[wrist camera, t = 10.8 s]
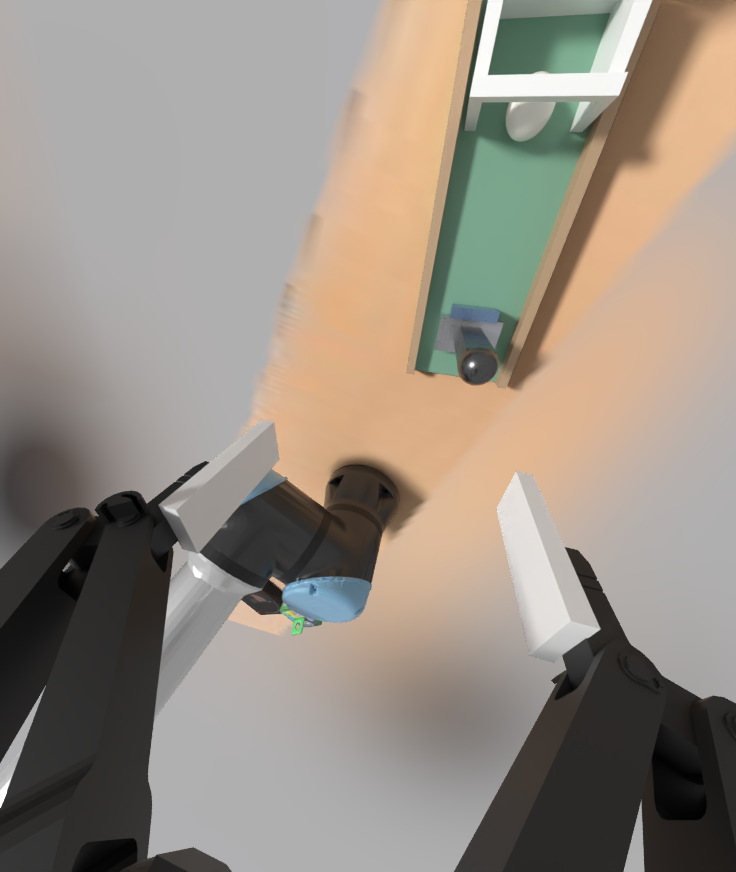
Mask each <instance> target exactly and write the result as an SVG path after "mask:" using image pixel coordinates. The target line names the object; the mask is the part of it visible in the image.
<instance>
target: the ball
mask: <svg viewBox="0 0 736 872" xmlns="http://www.w3.org/2000/svg"><path fill="white" fill-rule="evenodd" d="M533 74H550V73H548V72H545V71H539V72H536V73H533ZM555 103H556V102H509V105H508V108H507V112H506V129H507V132H508V134H509V136H510V137H511V138H512V139H513V140H515V141H518V142H523V141H527V140H529V139H531V138H533V137H534V136H536V135H537V134H538V133H539V132H540V131H541V130H542V129H543V128H544V126H545V125H546V123H547V122H548V120H549V119H550V117H551V114H552V112H553V110H554V107H555Z"/></svg>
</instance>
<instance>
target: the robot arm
mask: <svg viewBox="0 0 736 872" xmlns="http://www.w3.org/2000/svg"><path fill="white" fill-rule="evenodd" d="M278 460H279V453H278V446H277V440H276V433H275V426H274V422H272V421H267V420H261V421H259V422H258V423H257V424H256V425H255V426H253V427H252V428H251V429H250V430H248V431H247V432H246V433H245V434H244V435H242V436H241V437H240V438H239V439H238V440H236V441H235V442H234V443H233V444H232V445H230V446H229V447H228V448H227V449H226V450H224V451H223V452H222V453H221V454H219V455H218V456H217V457H216V458H215V459H213V460H212V461H211V462H206V461H205V462H203V463H201V464H199V465H197V466H194V467H193V468H192V469H190V470H189V471H188V472H187V473H185V474H184V476H182V477H180V478H179V479H178V480H177V481H176V482H174V483H173V484H172V485H170V486H169V487H168V488H166V489H165V490H164V491H163V492H161V493H160V494H159V495H158V496H157V497H155V498H154V499H152V500H151V501H150V502H149V503H147V504H146V502H145V500H144V498H143V497H142V495H141V494H140V493H138V492H136V491H125V492H121V493H117V494H114V495H112V496H110V497H108V498H106V499H105V500H104V501H102V502H101V503H100V504H98V506H97V507H96V509H95V511H96V512H97V514H98V515H99V516H94V515H93V514H92V513H91V512H90V510H88V509H86V508H73V509H69V510H66V511H63V512H61V513H59V514H57V515H55V516H53V517H52V518H50V519H49V520H48V521H46V522H45V523H44V524H43V525H42V526H41V527H40V528H39V529H38V530H37V531H36V532H35V533H34V534H33V535H32V536H31V538H30V539H29V540H28V541H27V542H26V543H25V544H24V545H23V546H22V547H21V548H20V549H19V550H18V551H17V552H16V553H15V554H14V555H13V556H12V558H11V559H10V560H9V561H8V562H7V563H6V564H5V565H4V566H3V567H2V568H1V569H0V763H1V761H2V759H3V757H4V756H5V754H6V752H7V751H8V749H9V747H10V745H11V744H12V742H13V740H14V738H15V737H16V735H17V733H18V732H19V730H20V728H21V727H22V725H23V723H24V721H25V720H26V718H27V716H28V715H29V713H30V711H31V710H32V708H33V706H34V704H35V703H36V701H37V699H38V698H39V696H40V694H41V692H42V691H43V689H44V687H45V686H46V687H45V690H44V692H43V695H42V698H41V701H40V703H39V706H38V709H37V711H36V714H35V717H34V719H33V722H32V725H31V727H30V730H29V733H28V736H27V738H26V741H25V743H24V746H23V749H22V750H21V751H20V752H19V753H18V755H17V756H16V757H15V758H14V759H13V760H12V761H11V763H10V764H9V765H8V766H7V767H6V768H5V769H4V771H3V772H2V773H1V774H0V872H231V870H230V869H229V867H228V866H227V865H226V864H224V863H223V862H221V861H219V860H217V859H215V858H213V857H211V856H209V855H207V854H205V853H203V852H201V851H199V850H197V849H195V848H188V849H183V850H179V851H173V852H169V853H163V854H158V855H156V856H155V857H152V858H149V859H147V855H148V845H149V834H150V825H151V814H152V796H151V790H150V786H149V782H148V764H149V756H150V748H151V739H152V731H153V722H154V719H155V718H156V716H157V715H158V714H159V712H160V711H161V710H162V708H163V707H164V705H165V704H166V703H167V701H168V700H169V698H170V697H171V696H172V694H173V693H174V692H175V690H176V689H177V687H178V686H179V685H180V683H181V682H182V680H183V679H184V677H185V676H186V675H187V674H188V672H189V671H190V669H191V668H192V667H193V665H194V664H195V662H196V661H197V660H198V658H199V657H200V655H201V654H202V653H203V651H204V650H205V649H206V647H207V646H208V644H209V643H210V642H211V640H212V639H213V638H214V636H215V635H216V633H217V632H218V631H219V629H220V628H221V626H222V625H223V624H224V622H225V621H226V620H227V618H228V617H229V615H230V614H231V613H232V611H233V610H234V608H235V607H236V606H237V604H238V603H239V602H240V600H241V599H242V597H244V596H245V595H248V594H251V593H254V592H258V591H261V590H262V589H263V587H264V586H265V585H266V583H267V582H268V580H269V579H270V578H271V577H272V576H273V577H275V578H276V579H278V580H279V581H281V582H282V583H284V584H285V585H286V586H285V587H284V589H283V594H282V600H283V602H284V604H286V606H287V607H288V608H289V609H291V610H292V611H294V612H296V613H298V614H300V615H302V616H305V617H308V618H311V619H314V620H319V621H325V622H334V623H338V622H347V621H351V620H353V619H355V618H357V617H358V616H359V615H360V614H361V613H362V612H363V610H364V608H365V605H366V601H367V598H368V595H369V592H370V590H371V587H372V586H371V583H372V578H373V574H374V569H375V565H376V560H377V556H378V551H379V547H380V542H381V537H382V533H383V532H384V530H385V529H386V527H387V526H388V524H389V523H390V521H391V520H392V518H393V517H394V515H395V513H396V511H397V507H398V502H399V495H398V491H397V489H396V487H395V485H394V483H393V482H392V481H391V480H390V479H389V478H388V477H387V476H386V475H384V474H383V473H381V472H380V471H378V470H376V469H373V468H370V467H367V466H362V465H349V466H345V467H342V468H340V469H338V470H337V471H335V472H334V473H333V475H332V476H331V478H330V480H329V482H328V484H327V486H326V491H325V501H324V507H322V506H321V505H320V504H318V503H317V502H316V501H314V500H313V499H312V498H310V497H309V496H308V495H306V494H305V493H304V492H302V491H301V490H300V489H298V488H297V487H296V486H294V485H293V484H292V483H290V482H289V481H288V480H287V479H288V478H286V477H283V476H281V475H280V474H278V473H277V472H275V471H274V470H272V467H273V466H274V465H275V464H276V463H277V462H278ZM497 513H498V518H499V522H500V526H501V531H502V535H503V540H504V544H505V549H506V553H507V558H508V562H509V567H510V570H511V576H512V580H513V584H514V589H515V593H516V598H517V602H518V607H519V611H520V616H521V620H522V624H523V629H524V634H525V638H526V642H527V647H528V651H529V655H530V656H533V657H536V658H540V659H543V660H546V661H549V662H553V663H554V662H555V661H556V660H558V659H560V658H561V657H562V656H563V660H564V663H565V666H566V669H567V670H566V671H564V672H562V673H561V674H559V675H557V676H556V677H555V678H554V679H552V680H551V681H552V682H553V683H554V684H556V683H557V684H556V686H555V688H554V690H553V691H552V693H551V695H550V697H549V699H548V701H547V702H546V704H545V706H544V708H543V710H542V712H541V714H540V715H539V717H538V719H537V721H536V723H535V725H534V726H533V728H532V730H531V732H530V734H529V735H528V737H527V739H526V741H525V743H524V745H523V746H522V748H521V750H520V752H519V754H518V756H517V757H516V759H515V761H514V763H513V765H512V767H511V769H510V770H509V772H508V774H507V776H506V777H505V779H504V781H503V783H502V785H501V787H500V789H499V790H498V792H497V794H496V796H495V798H494V800H493V801H492V803H491V805H490V807H489V809H488V811H487V812H486V814H485V816H484V818H483V820H482V821H481V824H480V825H479V827H478V829H477V831H476V832H475V834H474V836H473V838H472V840H471V842H470V843H469V845H468V847H467V849H466V851H465V853H464V855H463V856H462V858H461V860H460V862H459V864H458V866H457V867H456V869H455V871H454V872H623V871H624V867H625V863H626V859H627V854H628V850H629V847H630V843H631V839H632V834H633V830H634V827H635V822H636V819H637V815H638V811H639V806H640V802H641V799H642V821H643V845H644V866H645V867H644V868H645V872H736V703H734V702H731V701H730V700H728V699H726V698H724V697H718V696H711V697H708V698H705V699H701V698H699V697H698V696H696V695H694V694H692V693H691V692H689V691H687V690H685V689H684V688H682V687H680V686H678V685H677V684H675V683H673V682H672V681H670V680H668V679H666V678H665V677H663V676H662V675H661V674H660V672H659V671H658V670H657V668H656V667H655V666H654V664H653V663H652V662H651V661H650V660H649V659H648V658H647V657H646V656H645V655H644V654H643V653H642V652H640V651H639V650H637V649H636V648H634V647H633V646H632V645H631V644H630V643H629V641H628V639H627V638H626V636H625V633H624V631H623V629H622V627H621V626H620V623H619V621H618V619H617V618H616V616H615V613H614V611H613V609H612V608H611V606H610V603H609V601H608V600H607V597H606V595H605V594H604V593H603V589H602V587H601V586H600V583H599V581H597V577H596V576H595V573H594V571H593V569H592V568H591V565H590V564H589V562H588V561H587V560H586V559H585V558H584V557H583V556H582V554H581V553H580V552H579V551H578V550H575V549H570V548H566V547H564V545H563V542H562V540H561V538H560V536H559V533H558V531H557V529H556V527H555V524H554V522H553V520H552V517H551V515H550V513H549V510H548V508H547V506H546V504H545V502H544V499H543V497H542V494H541V492H540V490H539V488H538V486H537V483H536V481H535V479H534V476H533V475H531V474H526V473H522V472H516V473H515V475H514V477H513V479H512V481H511V482H510V485H509V486H508V488H507V490H506V492H505V494H504V496H503V498H502V499H501V501H500V503H499V505H498V507H497ZM177 541H178V542H179V543H180V545H181V547H182V549H184V550H188V560H187V561H186V563H185V564H184V565H183V566H182V567H181V568H180V569H179V571H178V572H177V573H176V574H175V575H174V576H173V577H172V579H171V580H170V577H171V569H172V560H173V548H172V546H173V545H174V544H175V543H176V542H177ZM68 562H69V563H70V564H71V565H70V566H69V567H68V569H67V570H66V571H65V572H63V571H62V570H63V569H64V567H65V566H66V565H67V563H68Z"/></svg>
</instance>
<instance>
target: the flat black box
mask: <svg viewBox="0 0 736 872" xmlns="http://www.w3.org/2000/svg"><path fill="white" fill-rule="evenodd" d="M282 594H283V592H282V591H281V590H279V589H278V588H277V587H276V586H275V585H274V584H272V583H271V582H270V581H269V580H268V582H267V583H266V585H265V586H264V587H263V589H262V590H261V591H258V592H254V593H251V594H248V595H245V596H244V597H242V599H241V600H242V601H244V602H245V603H246V604H247V605H249V606H250V607H251V608H252V609H254V610H255V611H256V612H258V613H259V614H260V615H267V614H283V613H281V612H280V608H281V606H282V604H283V600H282Z"/></svg>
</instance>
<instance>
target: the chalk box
mask: <svg viewBox="0 0 736 872" xmlns="http://www.w3.org/2000/svg"><path fill="white" fill-rule="evenodd" d="M280 612H281V613H283V614H284V615H285V616H287V617H288V618H289V619H290V620H291V621H293V622H294V624H293V629H292V635H297V634H301V633H302V629H303V627H311V626H318V625H321V624H322V621H319V620H314V619H311V618H308V617H305V616H302V615H300V614H298V613H296V612H294V611H292V610H291V609H289V608H288V607H287V606H286V604H284V602H283V604H282V606H281V608H280ZM297 624H298V625H300V628H299V629H298V630H297V629H296V625H297Z"/></svg>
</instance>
